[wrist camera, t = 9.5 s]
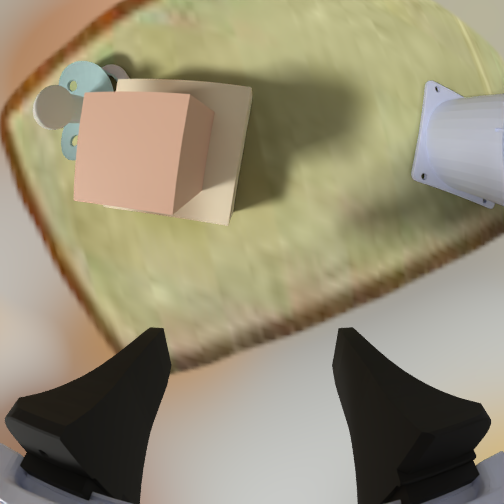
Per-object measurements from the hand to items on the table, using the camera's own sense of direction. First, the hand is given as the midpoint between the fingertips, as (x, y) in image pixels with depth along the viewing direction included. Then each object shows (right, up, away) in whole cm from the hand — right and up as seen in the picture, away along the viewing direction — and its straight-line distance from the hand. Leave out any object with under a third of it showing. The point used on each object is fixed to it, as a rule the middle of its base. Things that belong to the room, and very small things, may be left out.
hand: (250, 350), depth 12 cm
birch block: (-5, +11, +7) cm, 14 cm away
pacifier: (-11, +15, +6) cm, 19 cm away
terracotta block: (-5, +10, +4) cm, 12 cm away
